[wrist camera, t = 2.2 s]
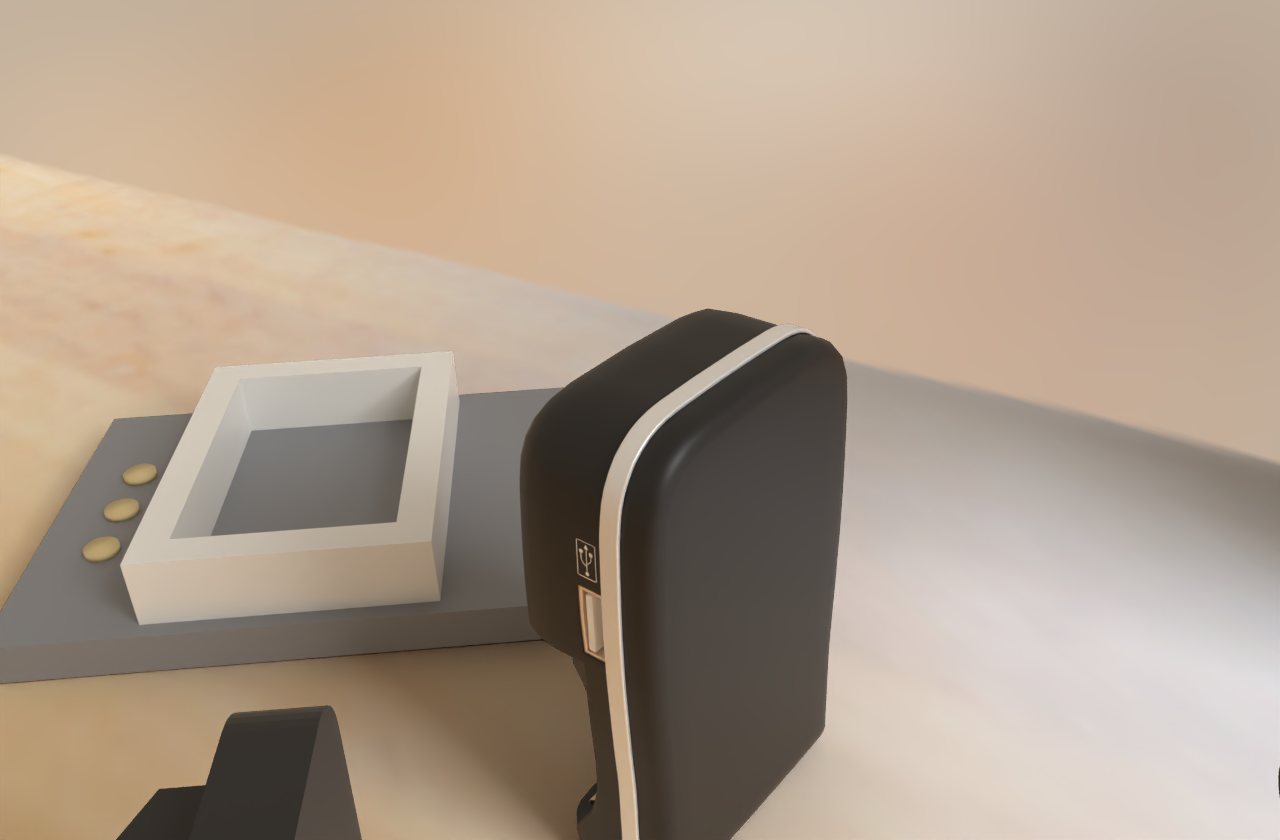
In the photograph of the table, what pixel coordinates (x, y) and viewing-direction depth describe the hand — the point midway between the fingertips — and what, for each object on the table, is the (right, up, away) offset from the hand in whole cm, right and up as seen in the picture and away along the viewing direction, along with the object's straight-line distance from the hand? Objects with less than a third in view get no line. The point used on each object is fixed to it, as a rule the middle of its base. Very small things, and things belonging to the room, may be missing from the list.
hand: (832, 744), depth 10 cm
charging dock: (-11, -1, +28) cm, 30 cm away
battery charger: (0, -6, +18) cm, 19 cm away
